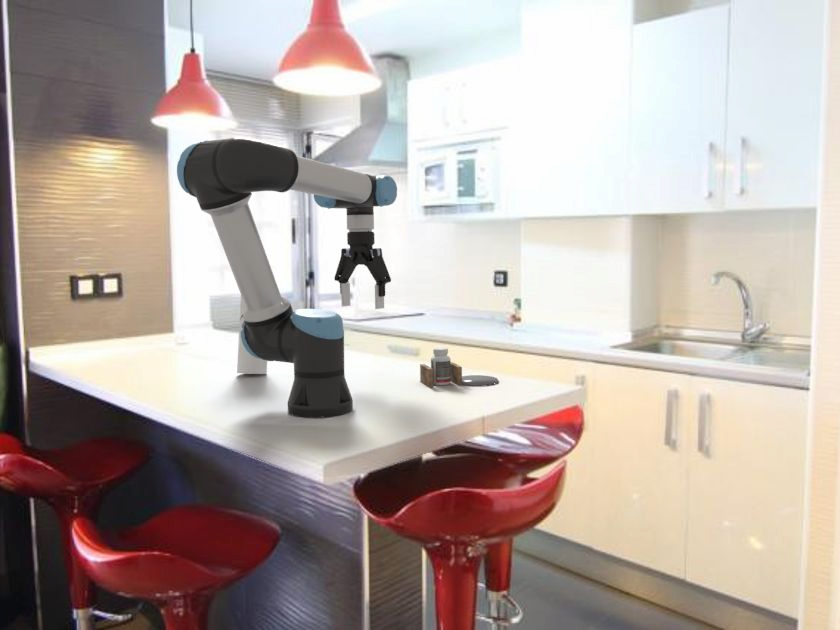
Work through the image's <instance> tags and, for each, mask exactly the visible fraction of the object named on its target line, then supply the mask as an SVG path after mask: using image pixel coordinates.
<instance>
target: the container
mask: <svg viewBox="0 0 840 630" xmlns="http://www.w3.org/2000/svg"><path fill="white" fill-rule="evenodd" d="M239 306H240V307H239V309H240V310H239V325H238V343H237V344H238V346H237V347H238V348H237V367H236V368H237V370H236V373H237V374H242V375H243V374H246V375H248V374H249V375H253V374H254V375H266V374H267V373H268V370H267V369H268V361H267V360H263V359H260V358H256V357H254V356H252V355H251V354H250V353H249V352H248V351H247V350H246V349H245V347H244V345H243V343H242V340H241V331H242V330H243V328H242V324H243V322H244V319H243V314H244V313H245V311H246V306H245V303H244V301H243V298H242V296H241V295H240V305H239Z"/></svg>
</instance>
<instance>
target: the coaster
mask: <svg viewBox="0 0 840 630" xmlns="http://www.w3.org/2000/svg"><path fill="white" fill-rule="evenodd" d="M497 382H499V379H498V378H497V377H495V376H490V375H481V374H479V375H478V374H477V375H474V374H473V375H472V374H470V375H462V385H461V386H465V385H467V387H483V386H482V385H487V386H490V385H489V384H493V385H495V384H494V383H496V384H498V383H497Z"/></svg>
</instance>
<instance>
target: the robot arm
mask: <svg viewBox="0 0 840 630" xmlns="http://www.w3.org/2000/svg"><path fill="white" fill-rule="evenodd" d="M176 175H177V180H178V182H179V185H180V187H181V189H182V190H183V191H184V192H185V193H187V194H188V195H190V196H192V197H194V198H196V200H197V203H198V205H199V208H200V210H201V211H202V212H205V213H207V214H208V215H210V217H211V219H212V222H213V224H214V227H215V231H216V232H217V235H218V238H219V241H220V243H221V246H222V248H223V251H224V254H225V256H226V259H227V261H228V264H229V267H230V269H231V272H232V275H233V277H234V280H235V282H236V285H237V287H238V291H239V293H240V297H241V296H242V298H243V301H244V303H245V306H246V311H245V313H244V314H243V319H244V322H243V324H242V328H243V330H242V331H241V340H242V343H243V345H244V347H245V349H246V350H247V351H248V352H249V353H250V354H251V355H252V356H254V357H256V358H260V359H263V360H267V362H280V363H281V362H282V363H291V364H293V369H294V370H293V374H294V375H293V377H294V378H293V379H294V380H293V383H292V385H291V390H290V393H289V397H288V399H287V413H288V414H290V415H291V416H294V417H300V418H329V417H336V416H341V415H344V414H345V415H346V414H347V413H350V412H352V411H353V409H354V404H353V403H354V402H353V401H354V400H353V397H352V395H351V392H350V391H351V390H350V388H349V385H348V383H347V381H346V380H347V379H346V378H345V377H346V376H345V375H346V374H345V330H344V324H343V323H344V322H343V318H342V316H341V315H340V314H338V313H337V312H335V311H331V310H327V309H321V308H318V309H317V308H316V309H315V308H299V309H295V310H293V306H292V305H291V302H290V300H289V299H288V298H285V297H283V296H281V293H280V290H279V287H278V284H277V281H276V279H275V275H274V272H273V270H272V267H271V265H270V261H269V259H268V256H267V253H266V251H265V250H266V249H265V247H264V245H263V242H262V240H261V236H260V234H259V231H258V228H257V226H256V223H255V219H254V216H253V214H252V211H251V208H250V205H249V201H250V199H251V197H252V193H257V192H258V193H259V192H277V193H286V192H288V191H290V190H291V191H295V192H296V191H297V192H299V193H305V194H311V195H313V199H314V202H315V203H316V204H317V206H319V207H321V208H323V209H324V208H326V209H346V230H348V232H347V233H346V239H347V242H346V243H347V245H348V246H349V248H347V247H346V248H341V251H340V252H341V254H340V259H339V262H338V265H337V269H336V270H335V271H336V272H335V275H334V281H335V282H336V281H337V282H338V283H339V291H340V296H341V307H350V306H351V282H350V278H351V277H352V275H353V273H354V272H355V270H356V267H357V266H359V265H362V266H363V265H364V266H365V267H366V268H367V269H368V271H369V274H371V275H372V278H373V279H374V281H375V284H374V305H375V306H374V307H375V310H380V309H385V296H386V284H388V283H391V282H392V278H391V276H390V273H389V271H388V268H387V266H386V262H385V260H384V256H383V249H382V248H379V247H378V248H377V247H376V248H373V246H374V245H375V242H376V241H375V232H374V231H373V230H374V229H375V215H374V214H375V212H374V207H385V206H390V205H393V204H394V203H395V201H396V199H397V197H398V187H397V183H396V180H394V178H393V177H392V176H390V175H383V174H380V175H371V174H370V173H369V174H368V173H362V172H359V171H355V170H351V169H349V168H348V169H347V168H345V167H342V166H341V167H340V166H337V165H333V164H330V163H325V162H322V161H319V160H315V159H311V158H307V157H303V156H300V155H297V154H296V152H295V151H294V150H293V149H291V148H288V147H285V146H282V145H278V144H274V143H271V142H267V141H263V140H260V139H256V138H251V137H243V136H242V137H241V136H235V137H234V136H233V137H229V138H222V139H213V140H205V141H200V142H197V143H193V144H191V145H189V146H188V147H187V146H186V148H185V149H184V150H183V151H182V152H181V154H180V156H179V159H178V161H177V165H176Z"/></svg>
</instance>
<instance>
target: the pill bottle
mask: <svg viewBox="0 0 840 630" xmlns="http://www.w3.org/2000/svg"><path fill="white" fill-rule="evenodd" d="M432 352H433V353H432V354H433V356H432V357H431V358H430V368H432V369H433V386H434V385H435V386H447V385H450V384H451V383H452V382H451V366H450V363H451V362H452V361H451V357H450V356H449V355H448V353H449V348H448V347H434V348H433V351H432Z"/></svg>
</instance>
